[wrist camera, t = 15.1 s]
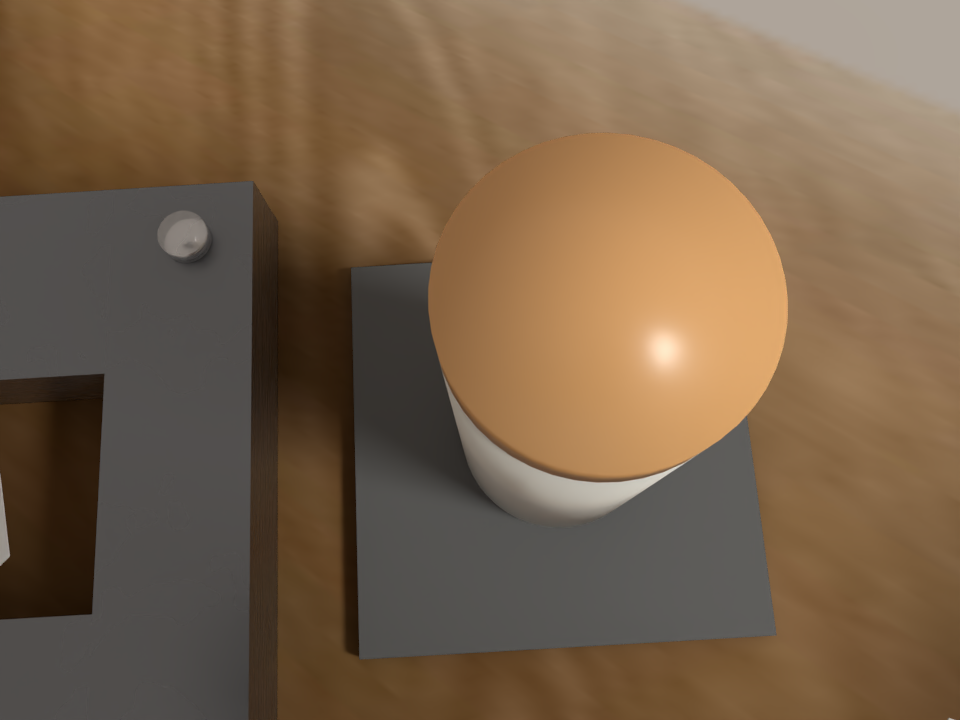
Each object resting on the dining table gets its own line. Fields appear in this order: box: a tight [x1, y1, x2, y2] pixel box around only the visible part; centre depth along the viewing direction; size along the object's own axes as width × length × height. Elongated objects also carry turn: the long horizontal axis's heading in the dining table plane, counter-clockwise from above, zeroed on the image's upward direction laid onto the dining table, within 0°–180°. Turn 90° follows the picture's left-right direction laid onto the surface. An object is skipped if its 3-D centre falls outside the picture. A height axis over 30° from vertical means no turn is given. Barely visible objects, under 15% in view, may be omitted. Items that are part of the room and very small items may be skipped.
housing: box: [0, 181, 278, 720], centre depth 25 cm, size 15×18×4 cm
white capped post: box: [428, 133, 788, 528], centre depth 20 cm, size 6×6×13 cm
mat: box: [351, 263, 776, 659], centre depth 27 cm, size 12×12×1 cm
